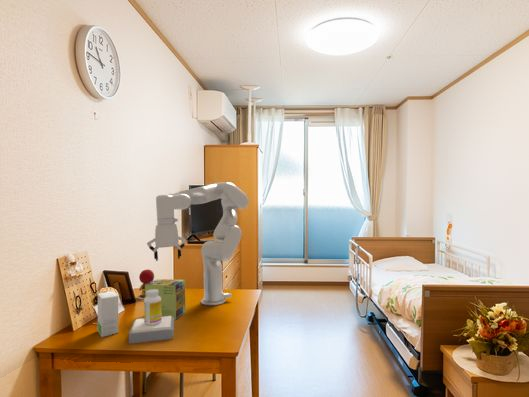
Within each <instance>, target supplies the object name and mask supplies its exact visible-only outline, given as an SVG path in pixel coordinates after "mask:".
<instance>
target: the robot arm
mask: <svg viewBox="0 0 529 397" xmlns="http://www.w3.org/2000/svg"><path fill="white" fill-rule="evenodd" d="M219 199H221V206H222V211H223V212H222V213H223V214H222V217H221V219H220V220H219V222H218V223H217V226H216V227H215V229H214V232H213V239H215V240H208V241H206V242H204V243H203V244H202V247H201V250H200V252H201V258H202V263H203V264H202V265H203V298H202V299H201V300H200V302H201V305H204V306H217V305H222V304H224V303H226V298H229V299H230V298H232V296H233V295H232V293H229V292H226V293H225V292H223V264H222V262H227V261H229V260H230V259H231V258H232V257H233V255H234V253H235V251H236V249H237V248H238V245H239V244H240V241H241V239H242V236H243V234H242V229H241V228H240V226H239V225H237V223H238V213H237V212H236V210H244V209H246V208H247V207H249V203H250V200H249V197H248V195H247V194H246V193H245V192H244V191H243V190H242V189H241V188H239V187H238V186H237V185H235V184H234V183H233V182H229V181H227V182H226V181H222V182H215V183H210V184H207V185H202V186H198V187H194V188H190V189H185V190H181V191H180V190H179V191H177V192H176V191H175V192H172V193H168V194H160V195H157V196H156V197H155V202H156V204H155V205H156V220H157V221H156V223H157V225H155V230H154V231H155V232H154V235H155V236H154V238H153V239H151V240H149V241H148V242H147V243H146V245H147V246H148V248H149V249H150V250H151V251H152V252H153V256H154V260H155V262H158V261H159V255H158V254H159V253H158V250H159V248H172V247H176V248H177V259H179V260H180V259H181V258H180V257H182V249H183V248H184V247H185V245H186V243H187V241H188V240H187V238H184V237H181V236H179V230H178V226H177V223H176V222H178V221H179V220H178V218H176V217H175V210H180V211H181V210H182V211H183V210H186V209H188V208H189V207H190V206H191V205H202V204H206V203H209V202H212V201H216V200H219ZM179 241H181V242H182V243H181V244H179V243H180V242H179ZM154 243H155V244H154ZM152 244H154V245H155V247H154V246H152Z"/></svg>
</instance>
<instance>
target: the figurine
mask: <svg viewBox="0 0 529 397" xmlns="http://www.w3.org/2000/svg"><path fill="white" fill-rule="evenodd" d="M138 279H139V281H140V283H141V285H140V286H139V288H138V290H139V291H141V294H140V295H138V296H137V297H136V298H137V299H139V300H142V301H144V299H145V284H147V283H149V282H151V281H154V280H155V273H154V271H153V270H151V269H144V270H142V271H141V272H140V273H139V278H138Z"/></svg>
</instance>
